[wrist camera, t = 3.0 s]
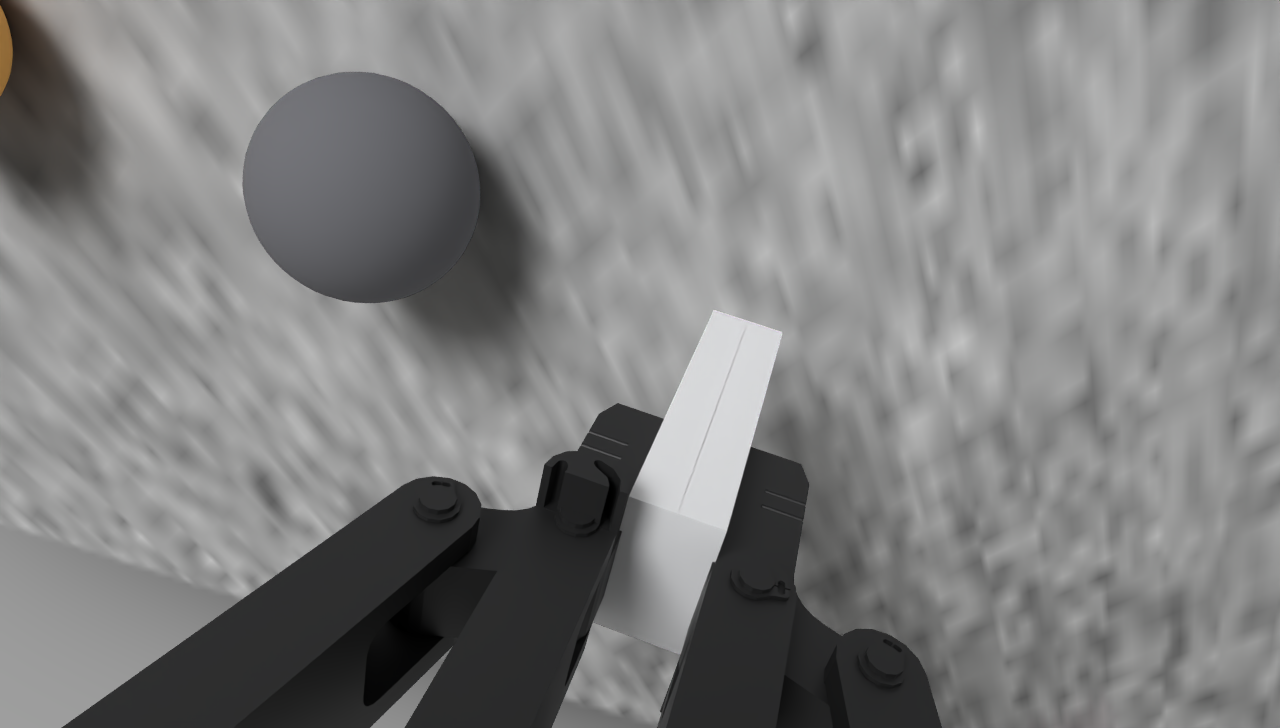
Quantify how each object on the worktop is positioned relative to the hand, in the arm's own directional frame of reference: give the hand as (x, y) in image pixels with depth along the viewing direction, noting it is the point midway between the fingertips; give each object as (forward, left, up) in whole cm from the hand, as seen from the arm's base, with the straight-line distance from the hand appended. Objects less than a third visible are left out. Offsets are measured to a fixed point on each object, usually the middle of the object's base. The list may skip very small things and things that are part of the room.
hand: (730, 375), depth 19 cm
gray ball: (+10, 0, -2) cm, 10 cm away
